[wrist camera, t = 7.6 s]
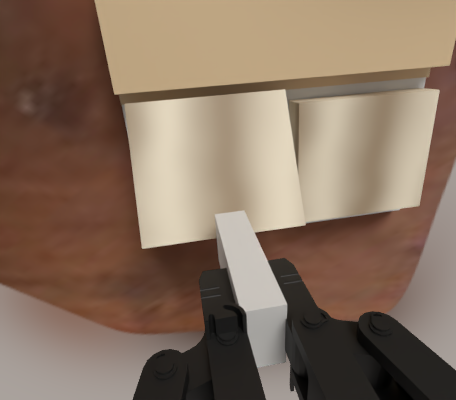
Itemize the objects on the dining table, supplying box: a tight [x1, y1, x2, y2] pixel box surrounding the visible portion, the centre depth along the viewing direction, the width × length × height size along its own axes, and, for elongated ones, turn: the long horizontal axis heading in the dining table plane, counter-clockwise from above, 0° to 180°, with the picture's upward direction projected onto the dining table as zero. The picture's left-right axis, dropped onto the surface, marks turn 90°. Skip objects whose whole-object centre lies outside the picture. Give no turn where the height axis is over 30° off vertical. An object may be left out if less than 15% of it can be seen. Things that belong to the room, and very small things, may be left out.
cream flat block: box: [124, 89, 306, 249], centre depth 19 cm, size 9×8×2 cm
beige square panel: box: [289, 88, 440, 222], centre depth 22 cm, size 9×8×2 cm
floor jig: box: [95, 0, 456, 223], centre depth 21 cm, size 20×17×3 cm
